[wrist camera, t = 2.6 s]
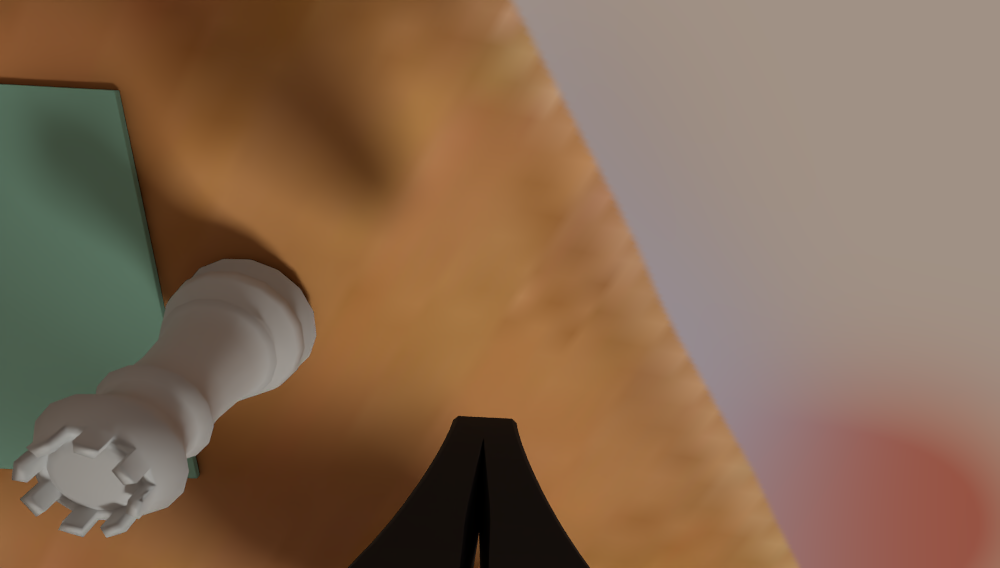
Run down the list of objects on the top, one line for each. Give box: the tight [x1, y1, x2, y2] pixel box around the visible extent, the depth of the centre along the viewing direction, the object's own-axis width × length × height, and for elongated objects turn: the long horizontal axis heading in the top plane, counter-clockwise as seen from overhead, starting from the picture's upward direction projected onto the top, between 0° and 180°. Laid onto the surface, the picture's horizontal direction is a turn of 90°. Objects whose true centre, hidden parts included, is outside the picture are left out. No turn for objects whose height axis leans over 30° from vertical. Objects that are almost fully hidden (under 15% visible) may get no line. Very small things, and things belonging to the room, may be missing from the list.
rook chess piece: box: [12, 259, 316, 538], centre depth 14 cm, size 4×4×8 cm
